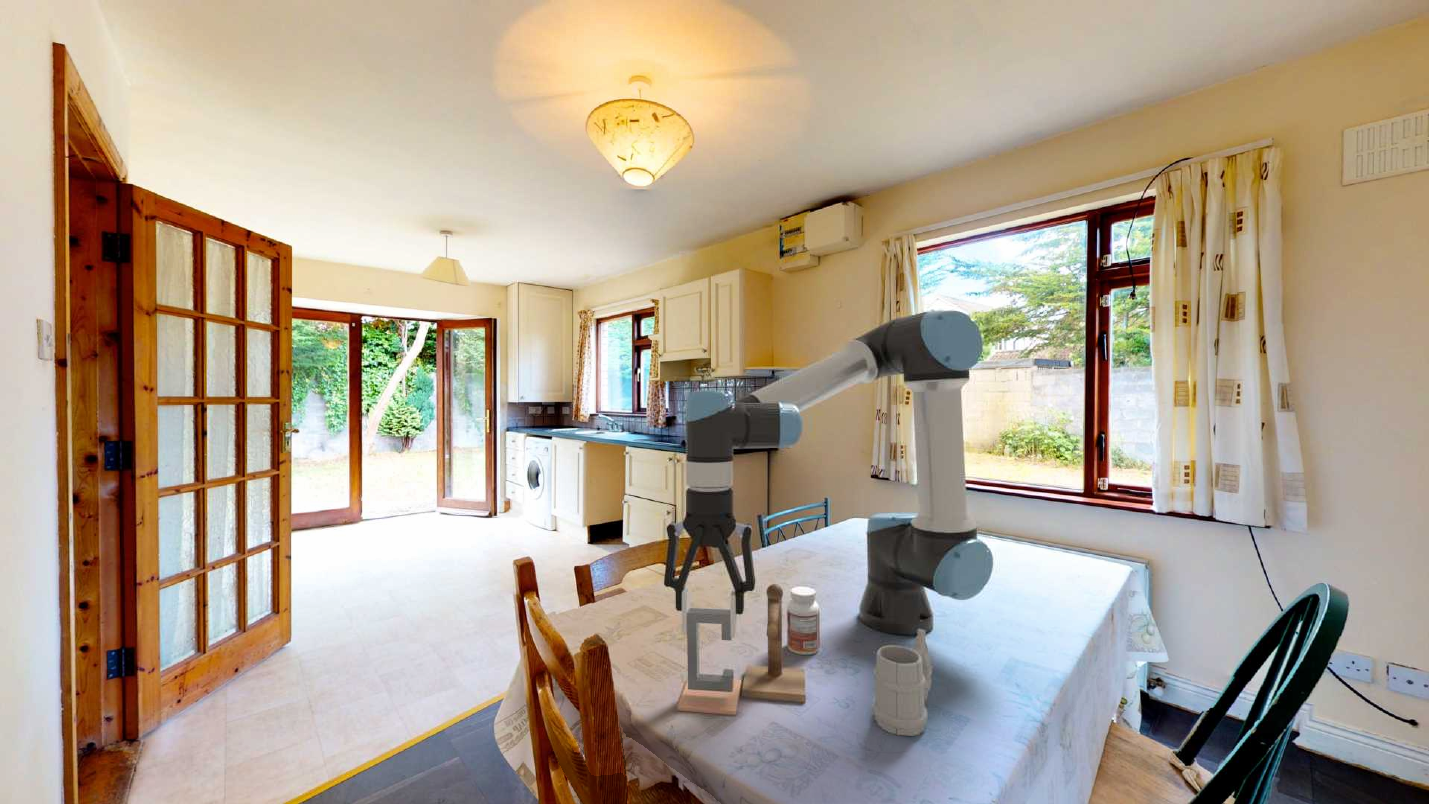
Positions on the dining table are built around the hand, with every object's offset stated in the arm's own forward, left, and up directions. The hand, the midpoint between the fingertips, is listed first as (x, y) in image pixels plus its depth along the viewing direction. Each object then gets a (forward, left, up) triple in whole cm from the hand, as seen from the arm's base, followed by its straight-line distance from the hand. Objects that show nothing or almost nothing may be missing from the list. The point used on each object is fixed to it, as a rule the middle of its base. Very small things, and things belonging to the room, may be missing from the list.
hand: (709, 631), depth 83 cm
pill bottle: (-15, -20, -11) cm, 27 cm away
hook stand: (-10, -1, -11) cm, 15 cm away
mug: (-30, 0, -11) cm, 32 cm away
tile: (0, -1, -11) cm, 11 cm away
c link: (0, 0, -9) cm, 9 cm away
